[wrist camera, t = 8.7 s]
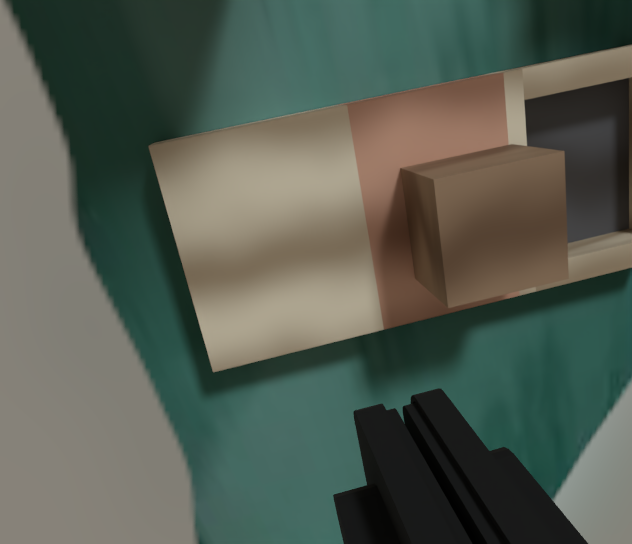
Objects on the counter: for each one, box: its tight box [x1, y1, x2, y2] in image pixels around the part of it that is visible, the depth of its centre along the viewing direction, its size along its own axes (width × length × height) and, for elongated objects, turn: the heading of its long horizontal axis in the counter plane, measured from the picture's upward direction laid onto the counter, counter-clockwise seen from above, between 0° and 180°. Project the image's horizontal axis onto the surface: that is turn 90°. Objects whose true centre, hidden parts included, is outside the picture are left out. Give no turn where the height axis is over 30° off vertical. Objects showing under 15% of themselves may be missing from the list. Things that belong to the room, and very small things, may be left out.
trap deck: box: [148, 44, 632, 372], centre depth 29 cm, size 12×27×2 cm, turn 101°
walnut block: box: [400, 144, 569, 308], centre depth 26 cm, size 6×6×4 cm
